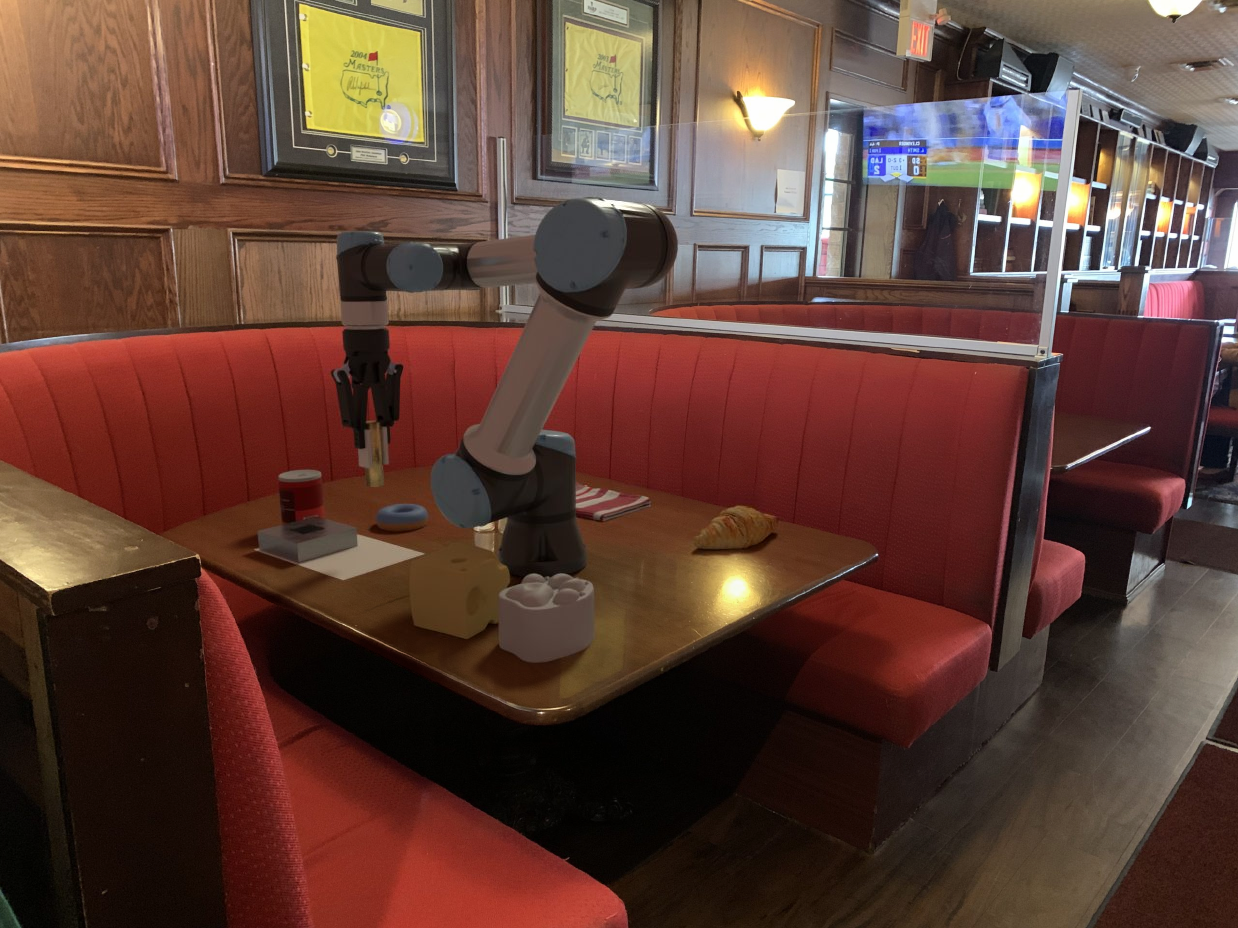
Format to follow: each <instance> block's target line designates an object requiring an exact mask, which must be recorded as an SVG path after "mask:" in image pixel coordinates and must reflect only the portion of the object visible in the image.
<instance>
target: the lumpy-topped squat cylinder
mask: <svg viewBox="0 0 1238 928" xmlns="http://www.w3.org/2000/svg"><path fill="white" fill-rule="evenodd" d="M594 587H595V586H594V585H593V583H592V582H591V581H589V580H586V579H582V578H580V577H573V576H571V575H570V574H562V573H561V574H556V575H554V576H553V577H542V576H541V575H538V574H529V575H527V576H526V577H523V579H522V580H521V582H520V584H516V585H513V586H510V587H507V589H504V590H502V591H501V592H500V593H499V595H498V619H499V623H498V645H499V647H500V648H501V649H502V650H504V651H506V652H509V653H511V654H514V655H515V656H516V657H517V658H519V659H521V661H524V662H527V663H546V662H551V661H555V660H559V659H561V658H565V657H569V656H570V655H575V654H576V653H579V652H582V651H583V650H586V649H587V648H588V647H590V646H591V644H592V643H593V641H594V640H595V588H594Z"/></svg>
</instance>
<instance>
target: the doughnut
mask: <svg viewBox="0 0 1238 928" xmlns="http://www.w3.org/2000/svg"><path fill="white" fill-rule="evenodd" d="M428 521H429V513H428V511H427V509H426V508H425V507H424V506H422V505H419V504H414V503H397V504H392V505H387V506H384V507H382V508H380V509H379V510H378V511H377V513H376V516H375V524H376V525H377V527H378V529H379V530H382V531H387V532H407V531H408V532H409V531H414V530H415V531H416V530H418V529H422V528H424V527H425V526H427V524H428Z"/></svg>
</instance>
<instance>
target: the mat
mask: <svg viewBox="0 0 1238 928" xmlns="http://www.w3.org/2000/svg"><path fill="white" fill-rule="evenodd" d="M357 543H358V546H356V547H353V548H350V549H346V550H343V551H339V552H336V553H332V554H329V555H326V556H322V557H319V558H315V559H312V560H308V561H305V562H301V563H296V562H293V561H290V560H288V559H285V558H282V557H279V556H276V555H273V554H270V553H267V552H264V551H261V550H259V547H258V548H254V549H253V550H254V551H256V552H259V553H262V554H265V555H267V556H271V557H274V558H277V559H279V560H282V561H286V562H287V563H288V562H289V563H292V564H294V565H297V566H300V567H303V568H305V569H308V570H312V571H313V572H314V571H315V572H317V573H321V574H323V575H327V576H329V577H333V578H335V579H337V580H341V581H345V580H349V579H352V578H355V577H359V576H360V575H364V574H368V573H370V572H373V571H377V570H380V569H382V568H386V567H389V566H390V567H391V566H392V565H395V564H398V563H402V562H404V561H408V560H412V559H414V558H417V557H421V556H423V555H424V556H425V553H424V552H421V551H420V552H419V551H417V550H414V549H410V548H406V547H403V546H399V545H397V544H392V543H390V542H385V541H382V540H379V539H376V538H373V537H370V536H365V535H362V534H358V533H357Z"/></svg>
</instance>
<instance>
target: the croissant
mask: <svg viewBox="0 0 1238 928" xmlns="http://www.w3.org/2000/svg"><path fill="white" fill-rule="evenodd" d="M778 523H779V517H778V516H776V515H772V514H768V513H763V512H761V511H760V510H756V509H755V508H754V507H753V506H747V505H735V506H731V507H727V508H725V509H723V510H722V511H720V512H719V513H718V515H717V516H716V517H714V518H713V519H712V520H710V523H709V524H708V526H706V527H703V528H702V529H701V530H700V532H699V535H696V536H694V537H693V541H692V544H693V545H694V547H695V548H697V549H701V550H735V549H736V550H737V549H743V548H744V549H747V548H748V547H750V546H755V545H758V544H759V543H761V542H764V540H765V539H766V538H767V537H768V536H770V535H771V534H772V533H773V532H774V531H776V528H777V525H778Z"/></svg>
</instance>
